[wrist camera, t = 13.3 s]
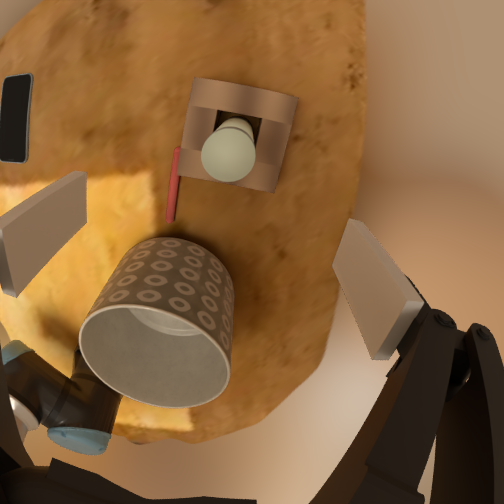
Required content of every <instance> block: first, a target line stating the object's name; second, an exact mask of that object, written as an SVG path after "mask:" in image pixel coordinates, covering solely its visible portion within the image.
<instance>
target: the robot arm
mask: <svg viewBox="0 0 504 504" xmlns="http://www.w3.org/2000/svg"><path fill="white" fill-rule="evenodd" d="M86 183H87V172H80V171H73V172H71V173H70V174H68V175H66V176H64V177H62V178H61V179H59V180H57V181H55V182H54V183H52V184H50V185H49V186H47V187H45V188H44V189H42V190H40V191H39V192H37V193H36V194H34V195H32V196H31V197H29V198H28V199H26V200H25V201H23V202H22V203H20V204H19V205H17V206H16V207H14V208H13V209H11V210H10V211H8V212H7V213H5V214H4V215H2V216H1V217H0V284H1V288H2V291H3V293H4V294H7V295H10V296H13V297H16V298H17V297H18V296H19V294H20V293H21V292H22V291H23V290H24V288H25V287H26V286H27V285H28V284H29V283H30V281H31V280H32V279H33V278H34V277H35V276H36V275H37V274H38V272H39V271H40V270H41V269H42V268H43V267H44V266H45V265H46V264H47V263H48V261H49V260H50V259H51V258H52V257H53V256H54V255H55V254H56V253H57V252H58V251H59V250H60V249H61V248H62V247H63V246H64V245H65V244H66V243H67V242H68V241H69V240H70V239H71V238H72V237H73V236H74V235H75V234H76V233H77V232H78V231H79V230H80V229H81V228H82V227H83V226H84V225H85V224H86V223H87V213H86ZM332 267H333V270H334V272H335V274H336V276H337V278H338V281H339V283H340V285H341V287H342V290H343V292H344V294H345V296H346V299H347V301H348V303H349V306H350V308H351V310H352V313H353V315H354V317H355V319H356V322H357V324H358V327H359V329H360V332H361V334H362V337H363V339H364V341H365V344H366V346H367V349H368V351H369V354H370V356H371V359H372V360H389V359H390V357H391V356H392V354H393V353H394V351H395V350H396V348H397V350H398V353H399V355H400V357H399V358H398V360H397V361H396V362H395V364H394V365H393V367H392V368H391V370H390V371H389V372H388V374H387V375H386V377H388V379H387V381H386V383H385V385H384V387H383V389H382V391H381V393H380V395H379V397H378V398H377V401H376V402H375V404H374V406H373V408H372V410H371V411H370V413H369V415H368V417H367V419H366V420H365V422H364V424H363V425H362V427H361V429H360V431H359V432H358V434H357V436H356V437H355V439H354V440H353V442H352V444H351V445H350V447H349V448H348V450H347V452H346V453H345V455H344V456H343V458H342V459H341V461H340V462H339V464H338V465H337V467H336V468H335V470H334V471H333V473H332V474H331V475H330V477H329V478H328V479H327V481H326V482H325V484H324V485H323V486H322V488H321V489H320V490H319V492H318V493H317V494H316V496H315V497H314V498H313V499H312V500H311V501H310V503H309V504H424V502H425V498H424V495H423V494H421V493H419V492H418V491H417V488H418V485H419V482H420V479H421V477H422V474H423V472H424V469H425V466H426V464H427V461H428V458H429V455H430V452H431V449H432V446H433V442H434V439H435V436H436V448H435V463H434V473H433V482H432V490H431V498H430V504H504V366H503V363H502V359H501V356H500V353H499V350H498V347H497V344H496V341H495V338H494V337H493V335H492V333H491V332H490V330H489V329H488V328H487V327H485V326H482V325H481V324H478V323H473V324H472V325H471V326H470V328H469V329H468V331H467V332H463V331H460V330H457V326H456V323H455V322H454V320H453V319H452V318H451V317H450V316H449V315H448V314H446V313H445V312H443V311H441V310H438V309H431V308H430V306H429V305H428V303H427V302H426V300H425V299H424V298H423V296H422V295H421V294H420V293H419V291H418V289H417V288H416V287H415V285H414V284H413V283H412V281H411V280H410V279H409V278H408V277H407V276H406V275H405V274H403V272H402V271H401V270H400V269H399V267H398V266H397V264H396V263H395V262H394V261H393V259H392V258H391V257H390V256H389V254H388V253H387V251H386V250H385V249H384V248H383V246H382V245H381V244H380V243H379V241H378V240H377V239H376V238H375V236H374V235H373V234H372V233H371V232H370V230H369V229H368V228H367V227H366V226H365V224H364V223H363V222H362V221H358V220H354V219H350V218H349V219H348V222H347V225H346V228H345V231H344V234H343V236H342V239H341V242H340V245H339V247H338V250H337V253H336V255H335V258H334V261H333V263H332ZM468 378H469V379H468ZM467 379H468V381H467V382H466V380H467ZM123 396H124V395H122V394H120V393H119V392H117V391H115V390H114V389H112V388H111V387H109V386H108V385H107V384H105V383H104V382H103V381H102V380H101V379H99V378H98V377H97V376H96V375H95V373H94V372H93V371H92V370H91V369H90V367H89V366H88V364H87V363H86V361H85V359H84V358H83V355H82V353H81V350H80V346H79V343H78V345H77V347H76V349H75V352H74V358H73V369H72V376H71V378H70V379H69V378H68V377H66V376H65V375H64V374H62V373H61V372H60V371H58V370H57V369H56V368H54V367H53V366H52V365H50V364H49V363H48V362H46V361H45V360H44V359H43V358H41V357H40V356H39V355H38V354H36V353H35V351H34V350H33V349H30V348H29V347H28V346H26V345H25V344H24V343H23V342H21V341H19V340H13V341H11V342H9V343H8V344H7V345H6V346H5V347H4V348H3V349H2V350H1V346H0V504H257V501H256V500H249V499H229V498H216V497H206V496H202V497H193V498H179V499H156V500H155V499H154V500H152V499H146V498H143V497H140V496H138V495H136V494H134V493H132V492H130V491H128V490H126V489H124V488H122V487H120V486H118V485H116V484H114V483H112V482H111V481H109V480H107V479H105V478H103V477H102V476H100V475H98V474H96V473H93V472H90V471H87V470H84V469H81V468H78V467H75V466H73V465H70V464H68V463H65V462H62V461H60V460H57V459H55V458H52V460H51V463H50V466H34V464H33V462H32V460H31V458H30V457H29V455H28V454H27V452H26V450H25V448H24V446H23V442H24V439H25V437H26V434H27V432H28V431H31V430H36V429H37V428H38V427H39V424H40V423H41V424H42V425H44V426H46V427H47V428H48V430H47V432H48V437H49V438H50V439H51V440H52V441H54V442H55V443H56V444H58V445H60V446H62V447H64V448H66V449H69V450H72V451H74V452H77V453H81V454H86V455H100V454H102V453H104V452H105V450H106V448H107V445H108V442H109V439H111V433H112V429H113V426H114V422H115V419H116V415H117V412H118V408H119V404H120V401H121V399H122V397H123Z"/></svg>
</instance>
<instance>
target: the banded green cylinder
mask: <svg viewBox="0 0 504 504" xmlns="http://www.w3.org/2000/svg"><path fill="white" fill-rule="evenodd" d="M255 157H256V150H255V145H254V140H253V132H252V126H251V124H250V122H249V121H248V120H247V119H246V118H244V117H242V116H232V117H229V118H228V119H226V120H225V121H224V122H223V123H222V124H221V125H220V126H219V128H218V129H217V130H216V131H214V132H213V133H212V134H211V135H210V136H209V137H208V138H207V140H206V141H205V143H204V145H203V148H202V151H201V160H202V164H203V167H204V169H205V170H206V172H207V173H208V174H209V175H210V176H212V177H213V178H215V179H217V180H219V181H223V182H234V181H237V180H240V179H242V178H243V177H245V176H246V175H247V174H248V173H249V172H250V171H251V169H252V168H253V165H254V162H255Z"/></svg>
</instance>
